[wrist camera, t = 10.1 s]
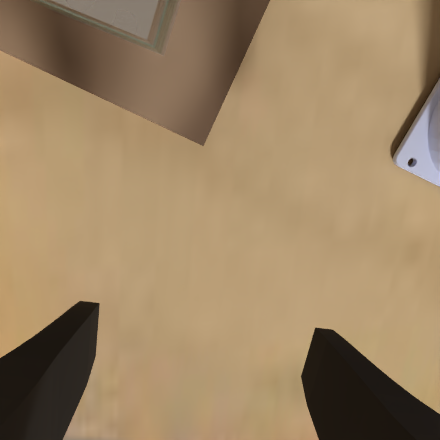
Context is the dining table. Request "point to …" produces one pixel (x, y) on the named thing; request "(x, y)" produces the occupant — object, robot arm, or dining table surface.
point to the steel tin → (124, 18)
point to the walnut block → (142, 59)
